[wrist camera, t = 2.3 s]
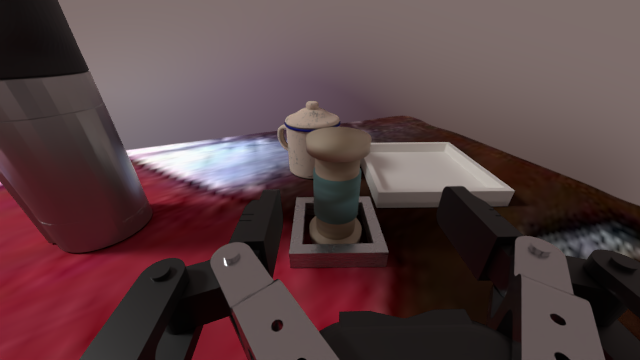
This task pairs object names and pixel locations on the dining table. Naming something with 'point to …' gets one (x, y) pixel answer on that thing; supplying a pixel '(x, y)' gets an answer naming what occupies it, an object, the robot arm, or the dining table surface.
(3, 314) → the dining table surface
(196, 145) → the dining table surface
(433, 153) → the tray
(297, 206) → the socket
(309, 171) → the teacup with lid
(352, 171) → the spool
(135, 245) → the dining table surface
